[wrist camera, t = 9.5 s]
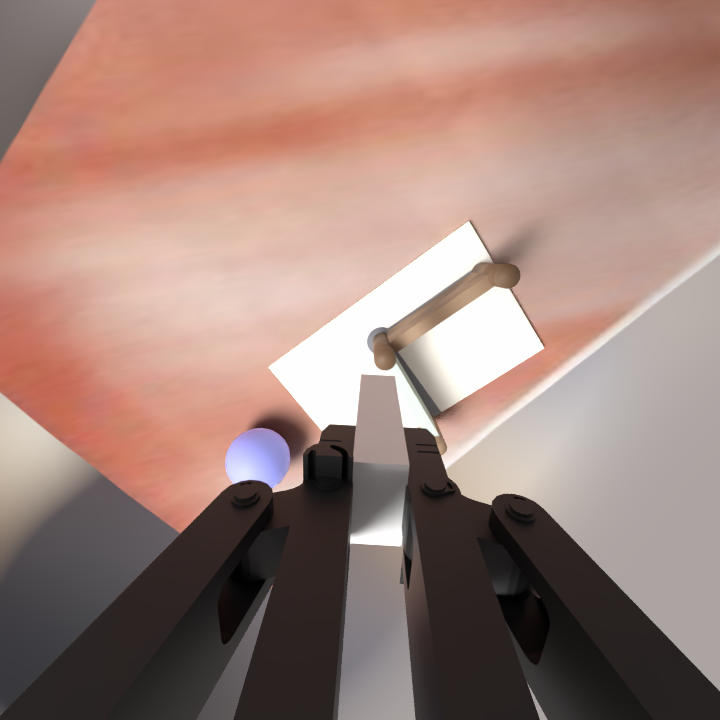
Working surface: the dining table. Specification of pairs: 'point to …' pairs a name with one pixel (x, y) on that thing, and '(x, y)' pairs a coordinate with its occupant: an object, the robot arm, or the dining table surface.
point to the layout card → (424, 355)
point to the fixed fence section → (441, 309)
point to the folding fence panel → (416, 404)
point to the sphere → (258, 457)
